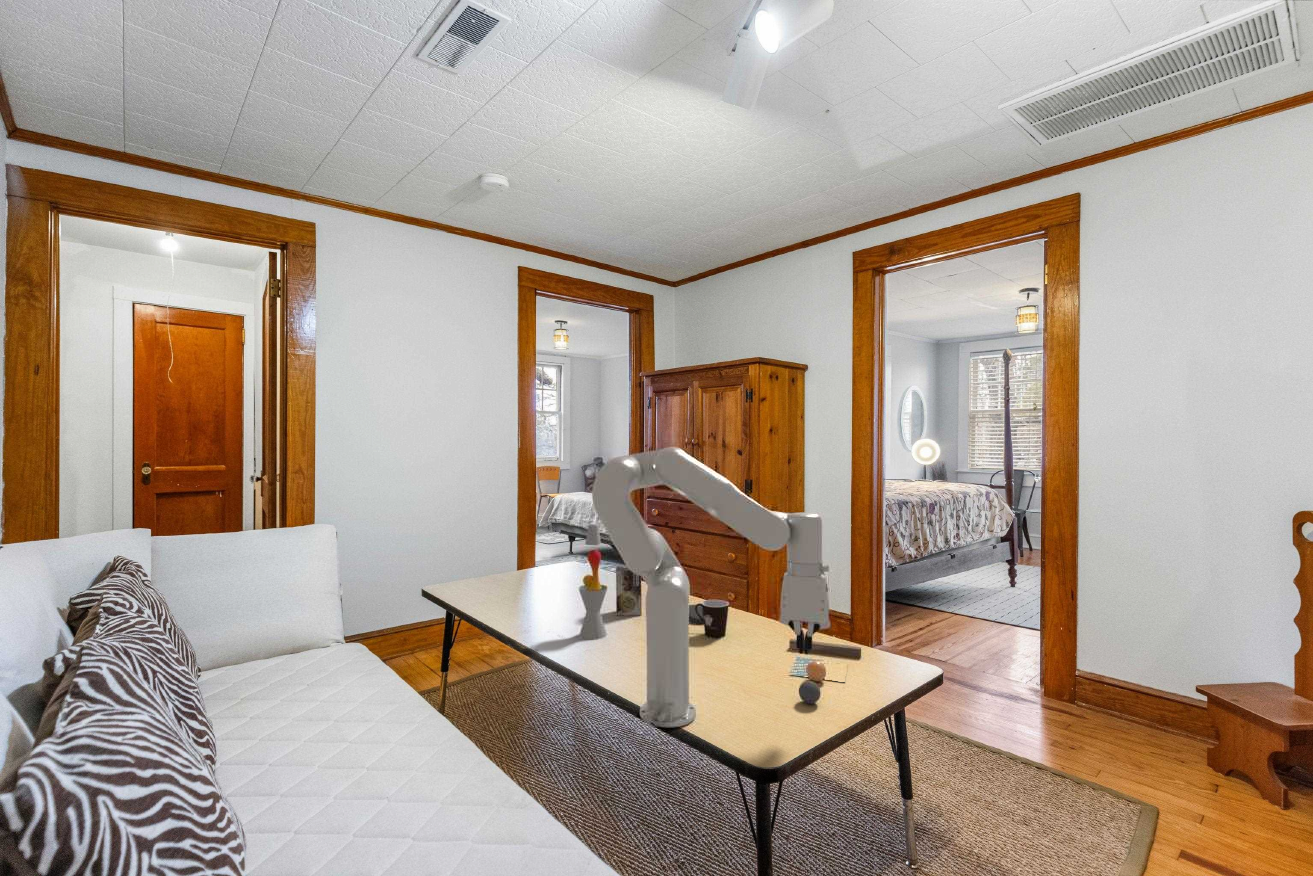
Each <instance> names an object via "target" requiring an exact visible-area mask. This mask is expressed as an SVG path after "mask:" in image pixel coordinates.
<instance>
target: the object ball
mask: <svg viewBox="0 0 1313 876" xmlns="http://www.w3.org/2000/svg"><path fill="white" fill-rule="evenodd" d="M806 672H807V675H808V677H809V678H808V679H810V681H812V682H821V681H824V680H823V679H824V678H825V676H826V668H825V666H824V664H823V663H821V662H819V661H812V662H810V663H809V664H808V665H807V668H806Z"/></svg>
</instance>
